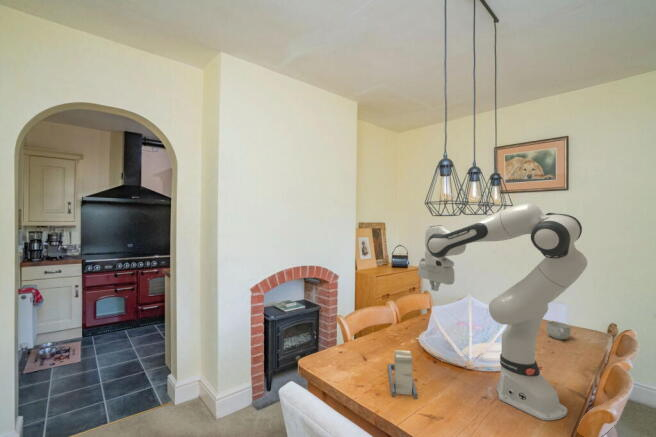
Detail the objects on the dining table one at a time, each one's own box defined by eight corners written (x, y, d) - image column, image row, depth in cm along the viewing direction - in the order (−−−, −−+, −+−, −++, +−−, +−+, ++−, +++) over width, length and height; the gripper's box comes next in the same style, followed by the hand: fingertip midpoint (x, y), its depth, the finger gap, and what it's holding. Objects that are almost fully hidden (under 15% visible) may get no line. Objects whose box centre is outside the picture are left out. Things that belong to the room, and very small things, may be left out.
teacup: (547, 332, 185) (547, 319, 185) (570, 337, 178) (570, 323, 178) (546, 340, 173) (546, 325, 173) (571, 345, 167) (571, 330, 167)
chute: (386, 370, 138) (386, 363, 138) (410, 372, 137) (410, 365, 137) (390, 399, 116) (390, 391, 116) (418, 401, 115) (418, 393, 115)
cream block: (394, 385, 124) (394, 350, 124) (409, 386, 124) (410, 350, 123) (395, 393, 118) (396, 356, 118) (411, 394, 118) (412, 357, 118)
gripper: (414, 258, 153) (414, 286, 153) (445, 263, 134) (445, 296, 134) (425, 257, 155) (425, 285, 155) (457, 263, 136) (456, 294, 137)
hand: (434, 290), depth 145 cm, fingers closed
